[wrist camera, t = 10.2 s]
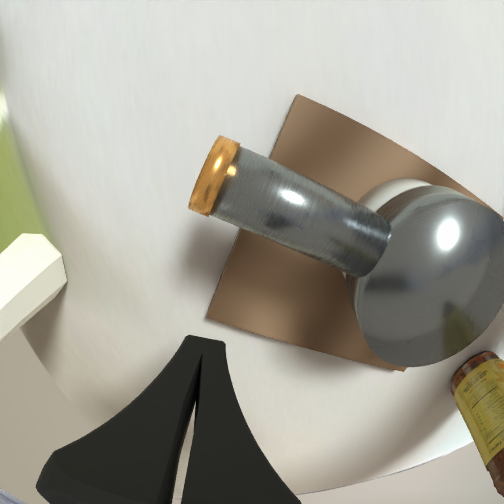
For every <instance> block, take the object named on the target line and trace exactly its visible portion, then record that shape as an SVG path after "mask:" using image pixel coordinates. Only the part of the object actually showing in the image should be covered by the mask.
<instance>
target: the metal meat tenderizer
mask: <svg viewBox="0 0 504 504" xmlns="http://www.w3.org/2000/svg"><path fill="white" fill-rule="evenodd" d="M188 209H190V210H192V211H195V212H197V213H199V214H202V215H204V216H207V217H209V215H211V216H214V217H216V218H219V219H221V220H223V221H226V222H228V223H231V224H233V225H235V226H238V227H240V228H242V229H245V230H247V231H250V232H252V233H254V234H257V235H259V236H261V237H264V238H266V239H268V240H271V241H273V242H275V243H278V244H280V245H282V246H285V247H287V248H289V249H292V250H294V251H296V252H299V253H301V254H303V255H306V256H308V257H310V258H313V259H315V260H317V261H320V262H322V263H324V264H326V265H329V266H331V267H333V268H336V269H338V270H340V271H342V272H345V273H346V290H347V295H348V298H349V301H350V304H351V307H352V309H353V311H354V314H355V316H356V318H357V321H358V323H359V326H360V328H361V330H362V333H363V335H364V338H365V340H366V342H367V344H368V346H369V347H370V349H371V350H372V351H373V352H374V353H375V354H376V355H377V356H378V357H379V358H381V359H382V360H384V361H386V362H388V363H391V364H393V365H397V366H402V367H420V366H426V365H430V364H434V363H437V362H440V361H442V360H445V359H447V358H449V357H451V356H453V355H455V354H456V353H458V352H460V351H461V350H463V349H464V348H465V347H467V346H468V345H469V344H471V343H472V342H473V341H474V340H475V339H476V338H477V337H479V336H480V335H481V333H482V332H483V331H484V330H485V329H486V328H487V327H488V326H489V324H490V323H491V322H492V321H493V319H494V318H495V316H496V315H497V313H498V312H499V310H500V308H501V306H502V304H503V302H504V221H503V220H502V219H501V218H500V217H499V215H498V214H496V213H495V212H494V211H492V210H491V209H489V208H488V207H486V206H484V205H482V204H480V203H479V202H477V201H475V200H473V199H471V198H469V197H467V196H465V195H463V194H462V193H460V192H458V191H455V190H453V189H451V188H448V187H444V186H437V185H427V186H420V187H416V188H412V189H409V190H407V191H404V192H402V193H400V194H398V195H397V196H395V197H393V198H391V199H390V200H389V201H387V202H386V203H385V204H383V205H382V206H381V207H380V208H379V209H378V210H377V211H376V212H375V211H373V210H371V209H369V208H367V207H366V206H364V205H362V204H360V203H358V202H356V201H354V200H352V199H350V198H349V197H347V196H345V195H343V194H341V193H339V192H337V191H335V190H333V189H331V188H329V187H327V186H325V185H323V184H321V183H319V182H317V181H315V180H313V179H311V178H309V177H307V176H305V175H303V174H301V173H298V172H296V171H294V170H292V169H290V168H288V167H286V166H284V165H281V164H279V163H277V162H275V161H273V160H270V159H268V158H266V157H264V156H261V155H259V154H257V153H255V152H252V151H250V150H248V149H245V148H243V147H241V146H240V143H238V142H236V141H233V140H231V139H229V138H226V137H224V136H221V135H220V136H219V137H218V138H217V140H216V141H215V143H214V145H213V147H212V149H211V150H210V152H209V154H208V157H207V159H206V161H205V163H204V165H203V167H202V170H201V172H200V174H199V177H198V179H197V182H196V184H195V187H194V189H193V192H192V195H191V198H190V201H189V205H188Z"/></svg>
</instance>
